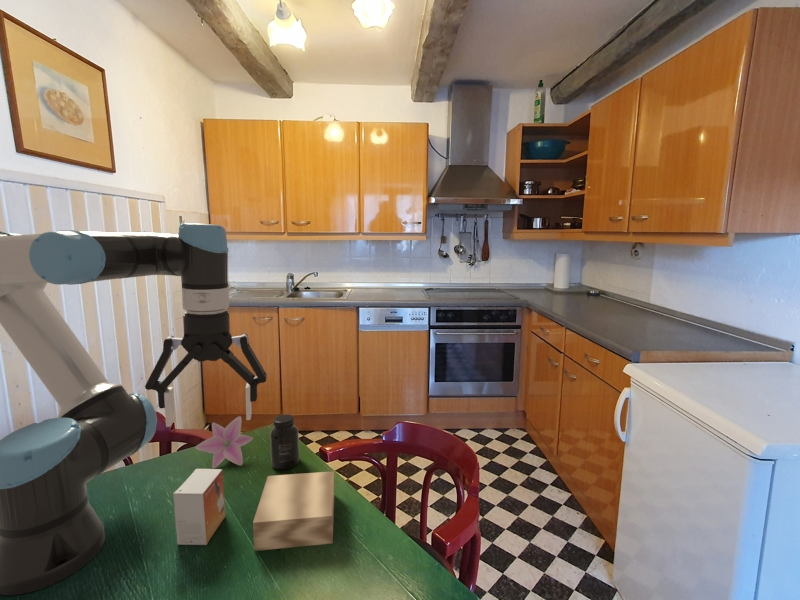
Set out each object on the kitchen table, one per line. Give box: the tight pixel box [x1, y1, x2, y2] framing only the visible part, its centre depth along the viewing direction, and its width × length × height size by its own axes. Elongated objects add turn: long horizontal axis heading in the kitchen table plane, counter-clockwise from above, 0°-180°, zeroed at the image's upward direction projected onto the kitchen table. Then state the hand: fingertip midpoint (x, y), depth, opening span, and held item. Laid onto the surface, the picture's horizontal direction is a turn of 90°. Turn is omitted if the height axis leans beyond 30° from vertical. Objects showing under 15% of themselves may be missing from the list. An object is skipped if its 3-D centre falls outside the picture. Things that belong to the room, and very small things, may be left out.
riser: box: [252, 471, 335, 552], centre depth 78 cm, size 14×14×6 cm
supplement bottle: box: [269, 413, 300, 471], centre depth 97 cm, size 7×7×12 cm
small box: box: [172, 468, 226, 546], centre depth 74 cm, size 8×6×10 cm
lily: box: [195, 415, 254, 469], centre depth 99 cm, size 12×12×10 cm
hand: (210, 420), depth 74 cm, fingers open, 13 cm apart
